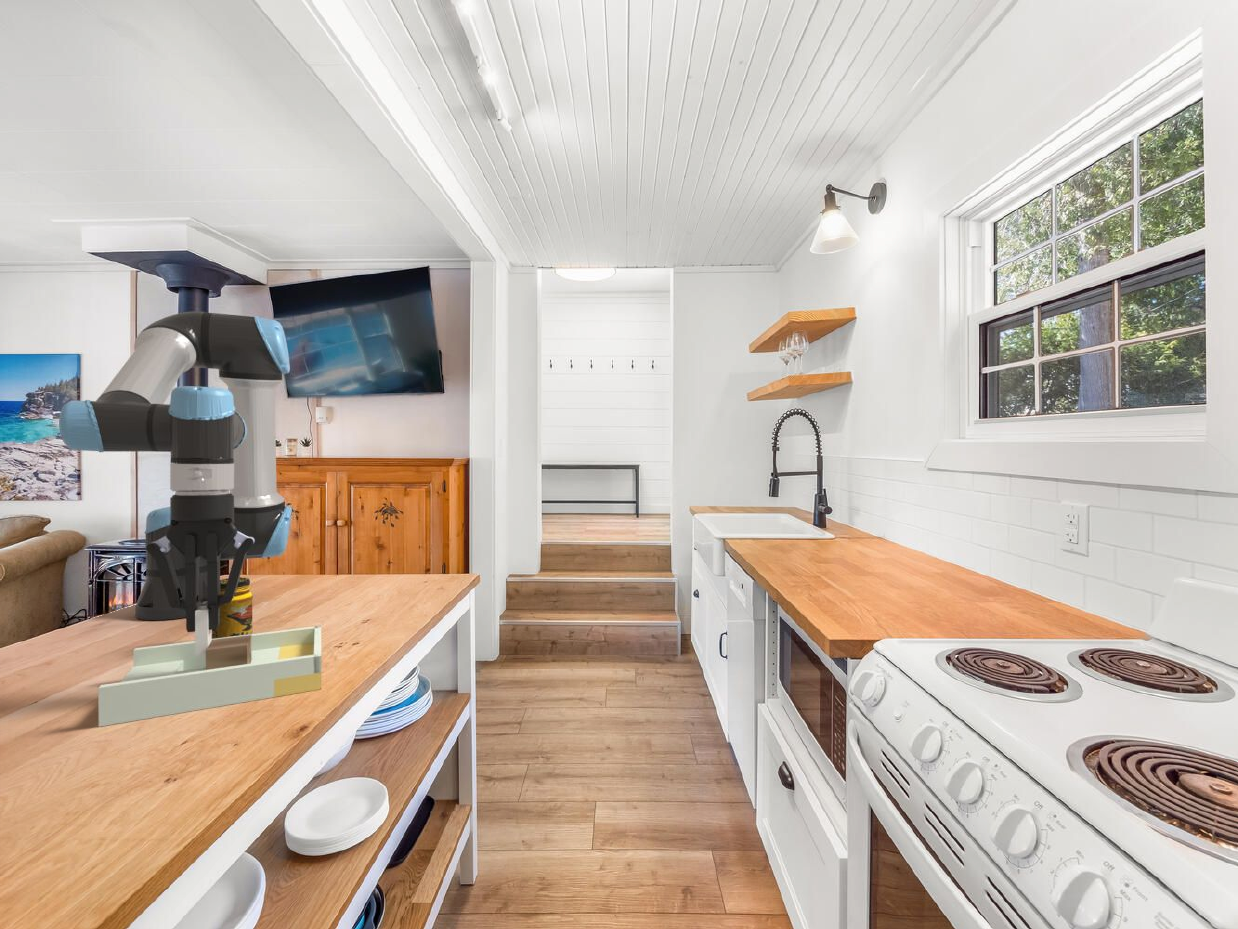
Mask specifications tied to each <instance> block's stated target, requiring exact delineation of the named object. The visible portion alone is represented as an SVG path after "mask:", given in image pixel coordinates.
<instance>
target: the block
mask: <svg viewBox="0 0 1238 929" xmlns="http://www.w3.org/2000/svg"><path fill="white" fill-rule="evenodd" d="M251 660H252V656H251V635H247V636H238V637H230V638H222V639H213V640H212V641H211V643H210V644H209V646H208V647H207V649H206V670H210V669H217V668H224V667H231V666H238V665H245V664H250V663H251Z"/></svg>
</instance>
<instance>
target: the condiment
mask: <svg viewBox="0 0 1238 929" xmlns="http://www.w3.org/2000/svg"><path fill="white" fill-rule="evenodd" d="M228 578H229V577H228ZM228 578H222V579H220V595H222V594H224V592H225V588H226V585H227V581H228ZM250 580H251V579H249V577H248V578H247V577H241V576H240V578H239V581H238V585H237V588H236V592H235V595H234V597H233V599H232V601H231V602H229V603H225V604H223V605H221V606H220V623H219V626H218V627H217V629H213V630H211V639H216V638H224V637H232V636H241V635H249V634H254V632H253V594H252V592H251V591H250V590H251V587H250V586H251V585H250V584H251V581H250Z"/></svg>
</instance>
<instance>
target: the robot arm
mask: <svg viewBox="0 0 1238 929" xmlns="http://www.w3.org/2000/svg"><path fill="white" fill-rule="evenodd" d="M135 338H136V339H135V341H134V343H133V350H134V351H133V353H132V354H131V356H130V357H129V358H128V359H127V360H126V362H125V363H124V364H123V366H122V367H121V369H120V370H119V371H118V372H117V373H116V375H115V376H114V377H113V379H112V380H111V381H110V382H109V384H108V385H107V386H106V388H105V389H104V390H103V392H102V393H101V394H100V395H99V397H98V398H96V400H89V399H85V400H72V401H68V402H66V403H65V404H64V405H63V406H62V408H61V410H60V413H59V419H58V428H59V434H60V436H61V440H62V442H63V443H64V445H65V446H66V447H67V448H68V449H71V450H75V451H86V452H99V453H104V452H106V453H107V452H113V453H116V452H121V453H122V452H127V453H128V452H138V453H139V452H158V453H159V452H160V453H161V452H162V453H163V452H168V453H170V463H169V464H170V465H169V466H170V471H169V473H170V474H169V475H170V476H169V477H170V479H169V481H170V483H169V485H170V488H169V490H171V491H172V492H175V494H173V495H172V496H171V497H170V499H169V501H170V502H169V503H170V506H167V507H162V508H157V509H153V510H152V511H150V512H149V513H148V514H147V516H146V523H145V531H144V535H145V569H146V570H145V575H146V576H145V577H146V578H145V581H144V583H143V586H142V589H141V591H140V595H139V596H138V599H137V601H136V604H135V608H134V609H135V615H134V616H135V618H136V619H138V620H145V621H164V620H165V621H166V620H176V619H183V618H185V619H186V620H185V622H186V623H185V624H186V625H185V626H186V628H185V630H186V632H187V633H194V632H195V633H194V637H195V638H194V641H195V656H198V655H206V649H207V647H208V646H209V644H210V643H211V639H212V630H213V629H217V627H218V626H219V623H220V606H221V605H223V604H225V603H229V602H231V601H232V599H233V597H234V595H235V592H236V588H237V585H238V581H239V578H240V577H241V574H242V571H243V567H244V562H245V560H246V559H247V560H248V559H260V560H261V559H264V558H272V557H280V556H282V555H283V554H284V553H285V552H286V549H287V546H288V542H289V541H288V540H289V539H288V538H289V535H290V529H291V521H292V512H293V509H292V508H293V507H291V506H289V505H285V497H283V496H282V495H281V494H280V493H278V489H277V488H278V486H277V485H278V484H277V446H276V444H277V442H276V441H277V440H276V400H275V399H276V395H275V393H276V392H275V389H276V388H277V387H278V386H279V385H280V384H281V383H282V382H283V374H284V375H286V374H289V373H290V371H291V364H290V355H289V350H288V343H287V340H286V339H287V338H286V333H285V331H284V328H283V326H282V324H281V323H280V322H279V321H277V320H275V319H272V318H271V319H270V318H265V317H259V316H257V315H255V316H249V315H239V314H238V315H237V314H228V313H216V312H208V311H207V312H206V311H185V312H179V313H175V314H171V315H169V316H166V317H163V318H161V319H159V320H156V321H154V322H153V323H150V324H149V325H148V326H146V327H145V328H143V329H142V331H141V332H139V334H138V335H137V337H135ZM191 368H196V369H197V368H198V369H199V368H200V369H201V368H202V369H211V370H212V369H213V370H218V379H219V380H221V381H222V382H223V383H225V385H226V386H227V389H225V388H220V387H210V386H196V385H195V386H194V385H192V386H191V385H190V386H189V385H186V386H185V385H181V386H177V387H175V385H176V383H177V381H178V380H179V378H180V377H181V375H182V374H183V373H185V372H187V371H189V370H191ZM169 395H170V401H169V404H167V403H166V404H165V402H166V401H167V399H168V397H169ZM230 492H231V493H230ZM230 560H231V561H232V560H233V561H232V564H231V568H230V570H229V571H230V572H229V574H228V581H227V585H226V588H225V592H224V594H222V595H220V580H221V561H230Z"/></svg>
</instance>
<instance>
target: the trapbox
mask: <svg viewBox="0 0 1238 929" xmlns="http://www.w3.org/2000/svg"><path fill="white" fill-rule="evenodd" d="M249 635H251V656H252V660H251V663H250V664H245V665H238V666H231V667H224V668H217V669H210V670H206V655H198V656H195V640H192V641H186V642H177V643H176V642H175V643H169V644H161V645H160V644H159V645H151V646H143V647H136V648H134V649H133V651H132V654H133V658H132V659H133V660H132V661H133V662H132V663H133V666H132V668H131V669H130V670H129V672H128V673H127V674H126V675H125V676H124V677H123V678H122V680H120V682H113V683H106V684H100V685H99V686H98V689H97V690H98V691H97V692H98V693H97V694H98V695H97V696H98V704H97V705H98V727H99V728H100V727H105V726H112V725H118V724H122V723H123V724H124V723H129V722H134V721H141V720H146V719H151V718H152V719H153V718H160V717H165V716H171V715H177V714H183V713H188V712H194V711H200V710H206V709H207V710H208V709H212V708H217V707H223V706H230V705H235V704H242V703H247V702H248V703H249V702H254V701H261V700H264V699H270V698H278V697H282V696H289V695H290V696H291V695H295V694H301V693H305V692H314V691H317V690H322V625H317V626H307V627H299V628H291V629H284V630H283V629H282V630H274V631H266V632H260V633H253V634H249ZM241 636H247V635H241ZM232 637H238V636H232ZM224 638H230V637H224ZM216 639H222V638H216ZM212 640H213V639H212V638H211V641H212Z"/></svg>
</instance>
